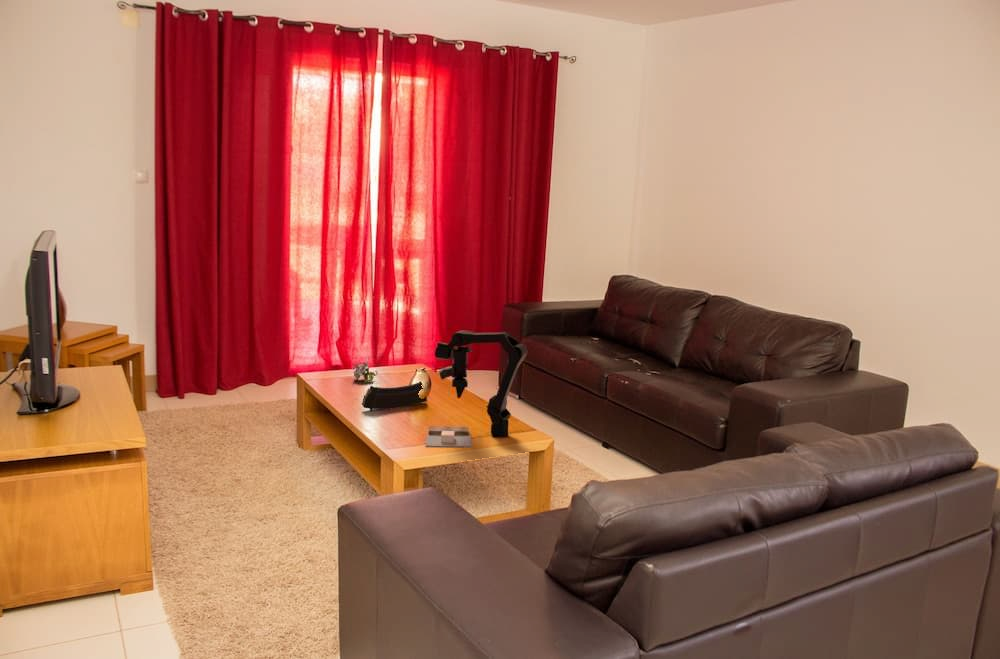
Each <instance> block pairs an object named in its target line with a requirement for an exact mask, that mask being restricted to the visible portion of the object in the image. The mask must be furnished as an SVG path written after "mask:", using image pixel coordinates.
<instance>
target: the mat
mask: <svg viewBox="0 0 1000 659" xmlns="http://www.w3.org/2000/svg"><path fill="white" fill-rule="evenodd" d="M425 447H426V448H431V447H432V448H473V442H472V434H471V435H470V434H468V435H455V439H454V443H447V442H441V435H429V434H425Z"/></svg>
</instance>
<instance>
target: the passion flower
mask: <svg viewBox="0 0 1000 659" xmlns="http://www.w3.org/2000/svg"><path fill="white" fill-rule="evenodd" d="M368 364H369V360H366V362H365V361H364V362H362V363H360V364H359V362H356V363H355V365H354V366H353V367H352V370H354V371H353V377H354V378H355V379H354V381H355V380H357V381H358V380H359V378H360V377H361V376H362V377H363V380H364V383H365V384H366V383H367V384H368V381H369V382H370V383H371V382H372V381H373V380H374V377H377V376H378V370H375V371H369V370H370V367H369V365H368Z"/></svg>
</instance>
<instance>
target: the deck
mask: <svg viewBox="0 0 1000 659" xmlns="http://www.w3.org/2000/svg"><path fill="white" fill-rule="evenodd" d="M442 431H455V435H469V426H459V425H458V426H453V425H451V426H448V425H447V426H446V425H444V426H443V425H440V426H439V425H434V426H433V425H429V426H428V435H441V433H442Z"/></svg>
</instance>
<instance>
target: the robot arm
mask: <svg viewBox="0 0 1000 659" xmlns="http://www.w3.org/2000/svg"><path fill="white" fill-rule="evenodd" d="M436 344H437V345H436V348H435V351H434V357H435V358H436V359H439V360H446V361H450V360H451V359H452V363H451V366H447V367H443V368H441V369H439V370H438V373H439V376H440V379H441V380H445V379H446V378H450V377H451V378H452V379H451V386H452V387H453V388H455V391H456V396H457V397H456V398H457V399H461V398H462V396H463V393H464V392H465V388H468V383H469V382H468V379H467V375H468V374H467V371H468V370H467V369H468V354H469V353H471V352H473V349H472V348H471V347H470V345H472V344H499V345H501V347H502V348H503V349H504V351H505V352H506V353H507V354H508V355H507V366H506V369H505V371H504V374H503V377H502V379H501V382H500V385H499V387H498V388H497V389H498V390H497V392H496V394H494V395H492V396H491V397H490V398H489V400H488V404H487V405H486V406H485V407H486V408H487V409H486V412H487V415H488V416H489V418H490V422H491V423H490V434H491V436H492V438H509V419H510V418H511V415H512V413H511V412H510V411H509V410H508V409H507V404H508V400H507V399H508V395H509V394H510V390H511V387H512V385H513V382H514V379H515V376H516V375H517V372H518V369H519V367H520V365H521V364H522V362H524V360H525V358H526V357H527V355H528V353H529V352H528V348H527V346H526V345H525V344H524V343H521V342H520V341H519V340H518V339H516V338H514V337H513V336H511V335H510V334H509V333H508V332H506V331H502V332H474V331H470V330H465V329H464V330H463V329H462V330H459V331H456V332H454V333H453V334H452V336H451V340H450V341H449V343H445V342H443V341H439V342H437V343H436Z"/></svg>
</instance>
